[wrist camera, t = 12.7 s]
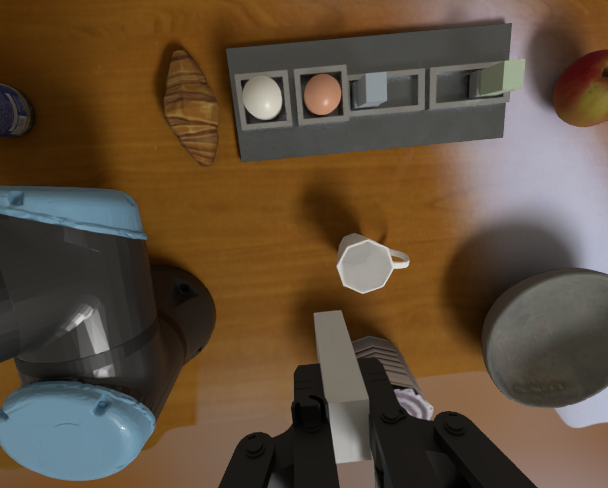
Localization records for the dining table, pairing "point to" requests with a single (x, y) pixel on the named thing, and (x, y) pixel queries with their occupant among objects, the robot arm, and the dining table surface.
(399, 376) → the can
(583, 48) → the dining table surface
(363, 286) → the cup
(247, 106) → the button cream
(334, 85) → the button terracotta
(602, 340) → the bowl
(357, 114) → the panel
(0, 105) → the pill bottle
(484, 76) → the slider sage
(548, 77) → the dining table surface
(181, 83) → the croissant
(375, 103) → the block
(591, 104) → the apple
